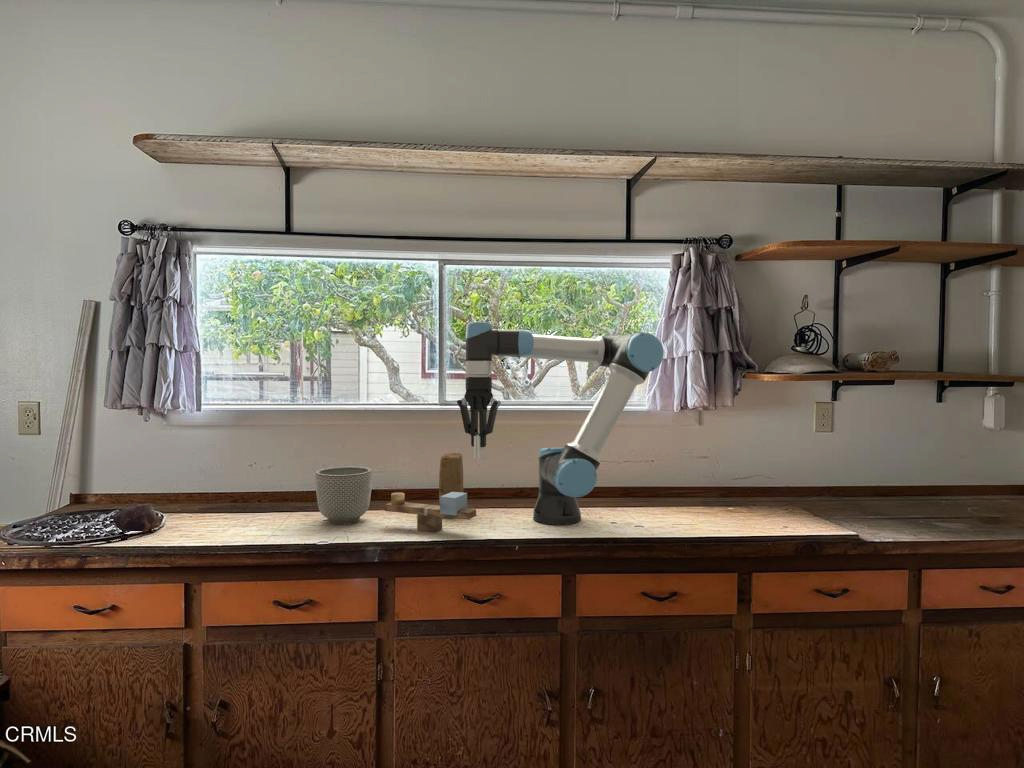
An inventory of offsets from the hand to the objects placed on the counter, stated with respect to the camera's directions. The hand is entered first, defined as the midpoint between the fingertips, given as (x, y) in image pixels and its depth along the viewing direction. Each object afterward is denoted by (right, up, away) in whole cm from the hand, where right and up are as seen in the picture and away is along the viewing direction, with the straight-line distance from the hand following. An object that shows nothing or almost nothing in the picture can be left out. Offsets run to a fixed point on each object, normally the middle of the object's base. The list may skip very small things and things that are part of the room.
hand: (478, 458), depth 181 cm
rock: (-100, -22, +2) cm, 102 cm away
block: (-10, -22, +26) cm, 36 cm away
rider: (-7, -16, +3) cm, 18 cm away
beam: (-15, -22, +7) cm, 28 cm away
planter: (-43, -22, +17) cm, 51 cm away
